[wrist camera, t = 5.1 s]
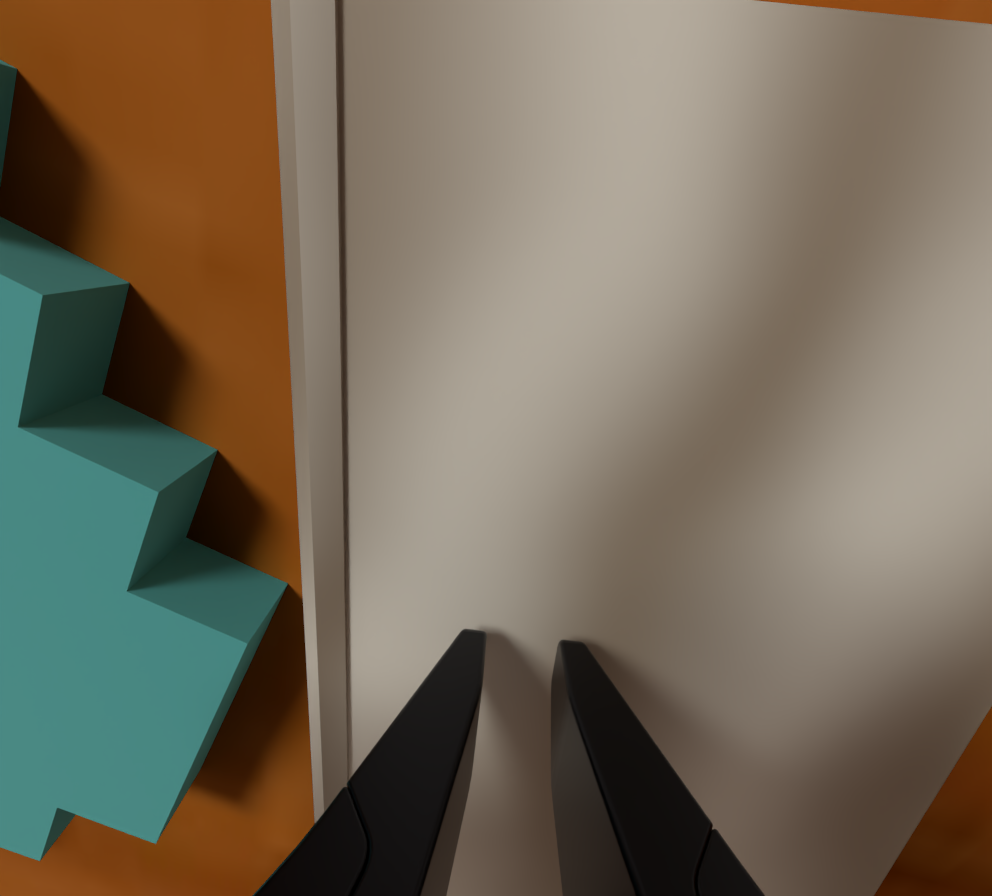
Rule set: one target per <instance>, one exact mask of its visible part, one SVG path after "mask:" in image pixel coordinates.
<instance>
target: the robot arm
mask: <svg viewBox="0 0 992 896" xmlns="http://www.w3.org/2000/svg"><path fill="white" fill-rule="evenodd" d="M486 640H487V634H486V632H485V631H483V630H474V629H463V630H462V631H461V632H460V633H459V634H458V635H457V637H456V638H455V639H454V641H453V642H452V643H451V645H450V646H449V647H448V649H447V650H446V651H445V653H444V654H443V655H442V657H441V658H440V659H439V661H438V662H437V663H436V665H435V666H434V667H433V669H432V670H431V671H430V673H429V674H428V675H427V677H426V678H425V679H424V681H423V682H422V683H421V685H420V686H419V687H418V689H417V690H416V691H415V693H414V694H413V695H412V697H411V698H410V699H409V701H408V702H407V703H406V705H405V706H404V707H403V709H402V710H401V711H400V713H399V714H398V715H397V717H396V718H395V719H394V721H393V722H392V723H391V725H390V726H389V727H388V729H387V730H386V731H385V733H384V734H383V735H382V737H381V738H380V739H379V741H378V742H377V743H376V745H375V746H374V747H373V749H372V750H371V751H370V752H369V754H368V755H367V756H366V758H365V759H364V760H363V762H362V763H361V764H360V766H359V767H358V768H357V770H356V771H355V772H354V774H353V775H352V776H351V778H350V779H349V780H348V782H347V787H343V788H342V789H341V791H340V792H339V793H338V795H337V796H336V797H335V799H334V800H333V801H332V803H331V804H330V805H329V807H328V808H327V809H326V811H325V812H324V813H323V814H322V816H321V817H320V818H319V819H318V821H317V822H316V823H315V824H314V826H313V827H312V828H311V829H310V831H309V832H308V833H307V834H306V836H305V837H304V838H303V839H302V841H301V842H300V843H299V844H298V846H297V847H296V848H295V849H294V850H293V851H292V852H291V853H290V855H289V856H288V857H287V858H286V859H285V860H284V861H283V862H282V864H281V865H280V866H279V867H278V868H277V869H276V870H275V871H274V873H273V874H272V875H271V876H270V877H269V878H268V879H267V881H266V882H265V883H264V884H263V885H262V886H261V887H260V888H259V889H258V890H257V891H256V892H255V894H254V895H253V896H446V895H447V890H448V886H449V881H450V876H451V872H452V867H453V863H454V858H455V853H456V849H457V844H458V839H459V835H460V830H461V825H462V821H463V816H464V811H465V807H466V802H467V798H468V793H469V788H470V782H471V777H472V770H473V762H474V754H475V745H476V737H477V728H478V720H479V711H480V703H481V694H482V685H483V676H484V664H485V652H486ZM551 789H552V802H553V811H554V820H555V829H556V838H557V848H558V857H559V866H560V875H561V884H562V894H563V896H765V895H764V893H763V892H762V891H761V889H760V888H759V887H758V885H757V884H756V883H755V881H754V880H753V879H752V877H751V876H750V874H749V873H748V872H747V870H746V869H745V868H744V866H743V865H742V864H741V862H740V861H739V860H738V858H737V857H736V856H735V854H734V853H733V851H732V850H731V849H730V847H729V846H728V844H727V843H726V841H725V840H724V839H723V837H722V836H721V834H720V833H719V832H718V830H717V829H712V828H713V824H712V822H711V821H710V819H709V818H708V816H707V815H706V814H705V812H704V811H703V809H702V808H701V807H700V805H699V804H698V802H697V801H696V799H695V798H694V797H693V795H692V794H691V792H690V791H689V790H688V788H687V787H686V785H685V784H684V783H683V781H682V780H681V778H680V777H679V775H678V774H677V773H676V771H675V770H674V768H673V767H672V766H671V764H670V763H669V761H668V760H667V759H666V757H665V756H664V754H663V753H662V751H661V750H660V749H659V747H658V746H657V744H656V743H655V742H654V740H653V739H652V737H651V736H650V735H649V733H648V732H647V730H646V729H645V727H644V726H643V725H642V723H641V722H640V720H639V719H638V718H637V716H636V715H635V713H634V712H633V711H632V709H631V708H630V706H629V705H628V703H627V702H626V701H625V699H624V698H623V696H622V695H621V694H620V692H619V691H618V689H617V688H616V687H615V685H614V684H613V682H612V681H611V679H610V678H609V677H608V675H607V674H606V672H605V671H604V670H603V668H602V667H601V665H600V664H599V663H598V661H597V660H596V658H595V657H594V655H593V654H592V653H591V651H590V650H589V648H588V647H587V646H586V644H585V643H583V642H581V641H573V640H564V639H563V640H560V641H559V643H558V646H557V652H556V657H555V663H554V668H553V674H552V681H551Z"/></svg>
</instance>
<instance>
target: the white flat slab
mask: <svg viewBox="0 0 992 896" xmlns="http://www.w3.org/2000/svg"><path fill="white" fill-rule="evenodd" d="M271 10H272V29H273V48H274V66H275V85H276V104H277V123H278V142H279V160H280V179H281V198H282V217H283V236H284V254H285V273H286V292H287V311H288V330H289V348H290V367H291V386H292V405H293V424H294V442H295V461H296V480H297V499H298V518H299V536H300V555H301V574H302V593H303V612H304V630H305V649H306V668H307V687H308V706H309V724H310V743H311V762H312V781H313V800H314V818H315V823H316V822H317V821H318V819H319V818H320V817H321V816H322V814H323V813H324V812H325V811H326V809H327V808H328V807H329V805H330V804H331V803H332V801H333V800H334V799H335V797H336V796H337V795H338V793H339V792H340V791H341V789H342V788H343V787H347V782H348V780H349V779H350V778H351V776H352V775H353V774H354V772H355V771H356V770H357V768H358V767H359V766H360V764H361V763H362V762H363V760H364V759H365V758H366V756H367V755H368V754H369V752H370V751H371V750H372V749H373V747H374V746H375V745H376V743H377V742H378V741H379V739H380V738H381V737H382V735H383V734H384V733H385V731H386V730H387V729H388V727H389V726H390V725H391V723H392V722H393V721H394V719H395V718H396V717H397V715H398V714H399V713H400V711H401V710H402V709H403V707H404V706H405V705H406V703H407V702H408V701H409V699H410V698H411V697H412V695H413V694H414V693H415V691H416V690H417V689H418V687H419V686H420V685H421V683H422V682H423V681H424V679H425V678H426V677H427V675H428V674H429V673H430V671H431V670H432V669H433V667H434V666H435V665H436V663H437V662H438V661H439V659H440V658H441V657H442V655H443V654H444V653H445V651H446V650H447V649H448V647H449V646H450V645H451V643H452V642H453V641H454V639H455V638H456V637H457V635H458V634H459V633H460V632H461V631H462V630H463V629H474V630H483V631H485V632H486V634H487V640H486V652H485V664H484V676H483V685H482V694H481V703H480V711H479V720H478V728H477V737H476V745H475V754H474V762H473V770H472V777H471V782H470V788H469V793H468V798H467V802H466V807H465V811H464V816H463V821H462V825H461V830H460V835H459V839H458V844H457V849H456V853H455V858H454V863H453V867H452V872H451V876H450V881H449V886H448V890H447V895H446V896H563V894H562V884H561V875H560V866H559V857H558V848H557V838H556V829H555V820H554V811H553V802H552V789H551V681H552V674H553V668H554V663H555V657H556V652H557V646H558V643H559V641H560V640H563V639H564V640H573V641H581V642H583V643H585V644H586V646H587V647H588V648H589V650H590V651H591V653H592V654H593V655H594V657H595V658H596V660H597V661H598V663H599V664H600V665H601V667H602V668H603V670H604V671H605V672H606V674H607V675H608V677H609V678H610V679H611V681H612V682H613V684H614V685H615V687H616V688H617V689H618V691H619V692H620V694H621V695H622V696H623V698H624V699H625V701H626V702H627V703H628V705H629V706H630V708H631V709H632V711H633V712H634V713H635V715H636V716H637V718H638V719H639V720H640V722H641V723H642V725H643V726H644V727H645V729H646V730H647V732H648V733H649V735H650V736H651V737H652V739H653V740H654V742H655V743H656V744H657V746H658V747H659V749H660V750H661V751H662V753H663V754H664V756H665V757H666V759H667V760H668V761H669V763H670V764H671V766H672V767H673V768H674V770H675V771H676V773H677V774H678V775H679V777H680V778H681V780H682V781H683V783H684V784H685V785H686V787H687V788H688V790H689V791H690V792H691V794H692V795H693V797H694V798H695V799H696V801H697V802H698V804H699V805H700V807H701V808H702V809H703V811H704V812H705V814H706V815H707V816H708V818H709V819H710V821H711V822H712V824H713V828H712V829H717V830H718V832H719V833H720V834H721V836H722V837H723V839H724V840H725V841H726V843H727V844H728V846H729V847H730V849H731V850H732V851H733V853H734V854H735V856H736V857H737V858H738V860H739V861H740V862H741V864H742V865H743V866H744V868H745V869H746V870H747V872H748V873H749V874H750V876H751V877H752V879H753V880H754V881H755V883H756V884H757V885H758V887H759V888H760V889H761V891H762V892H763V893H764V895H765V896H874V895H875V893H876V891H877V890H878V888H879V887H880V885H881V883H882V882H883V880H884V878H885V877H886V875H887V874H888V872H889V870H890V869H891V867H892V866H893V864H894V862H895V861H896V859H897V858H898V856H899V854H900V853H901V851H902V850H903V848H904V846H905V845H906V843H907V841H908V840H909V838H910V837H911V835H912V833H913V832H914V830H915V829H916V827H917V825H918V824H919V822H920V821H921V819H922V817H923V816H924V814H925V813H926V811H927V809H928V808H929V806H930V805H931V803H932V801H933V800H934V798H935V796H936V795H937V793H938V792H939V790H940V788H941V787H942V785H943V784H944V782H945V780H946V779H947V777H948V776H949V774H950V772H951V771H952V769H953V768H954V766H955V764H956V763H957V761H958V759H959V758H960V756H961V755H962V753H963V751H964V750H965V748H966V747H967V745H968V743H969V742H970V740H971V739H972V737H973V735H974V734H975V732H976V731H977V729H978V727H979V726H980V724H981V722H982V721H983V719H984V718H985V716H986V714H987V713H988V711H989V710H990V708H991V706H992V24H982V23H972V22H962V21H953V20H943V19H933V18H923V17H913V16H903V15H893V14H883V13H873V12H863V11H853V10H843V9H833V8H823V7H813V6H803V5H794V4H784V3H774V2H764V1H754V0H271Z"/></svg>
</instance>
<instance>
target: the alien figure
mask: <svg viewBox="0 0 992 896" xmlns="http://www.w3.org/2000/svg"><path fill="white" fill-rule="evenodd" d="M16 74H17V69H16V68H14V67H12V66H11V65H9V64H7V63H5V62H3V61H2V60H0V185H1V178H2V171H3V164H4V157H5V150H6V144H7V137H8V130H9V123H10V116H11V109H12V102H13V95H14V88H15V81H16ZM129 284H130V283H129V282H127V281H125V280H123V279H121V278H119V277H117V276H115V275H113V274H111V273H109V272H107V271H105V270H103V269H101V268H99V267H98V266H96V265H94V264H92V263H90V262H88V261H86V260H84V259H82V258H80V257H78V256H76V255H74V254H72V253H70V252H68V251H66V250H65V249H63V248H61V247H59V246H57V245H55V244H53V243H51V242H49V241H47V240H45V239H43V238H41V237H39V236H37V235H35V234H33V233H31V232H30V231H28V230H26V229H24V228H22V227H20V226H18V225H16V224H14V223H12V222H10V221H8V220H6V219H4V218H2V217H0V847H1V848H4V849H7V850H10V851H13V852H16V853H18V854H21V855H24V856H27V857H30V858H33V859H35V860H38V861H40V860H41V859H42V858H43V856H44V855H45V854H46V853H47V851H48V850H49V849H50V847H51V846H52V845H53V843H54V842H55V841H56V840H57V838H58V837H59V836H60V834H61V833H62V832H63V830H64V829H65V828H66V827H67V825H68V824H69V823H70V821H71V820H72V819H73V817H74V816H75V815H79V816H82V817H84V818H87V819H90V820H92V821H95V822H98V823H101V824H103V825H106V826H109V827H111V828H114V829H117V830H120V831H122V832H125V833H128V834H131V835H133V836H136V837H139V838H141V839H144V840H147V841H150V842H152V843H155V844H156V842H157V841H158V839H159V837H160V836H161V834H162V832H163V831H164V829H165V827H166V826H167V824H168V822H169V821H170V819H171V817H172V816H173V814H174V813H175V811H176V809H177V808H178V806H179V804H180V803H181V801H182V799H183V798H184V796H185V794H186V793H187V791H188V789H189V788H190V786H191V784H192V783H193V781H194V779H195V778H196V776H197V774H198V773H199V771H200V769H201V767H202V765H203V763H204V761H205V758H206V756H207V754H208V752H209V750H210V748H211V746H212V744H213V742H214V739H215V737H216V735H217V733H218V731H219V729H220V727H221V725H222V722H223V720H224V718H225V716H226V714H227V712H228V710H229V708H230V705H231V703H232V701H233V699H234V697H235V695H236V693H237V691H238V689H239V686H240V684H241V682H242V680H243V678H244V676H245V674H246V672H247V669H248V667H249V665H250V663H251V661H252V659H253V657H254V655H255V652H256V650H257V648H258V646H259V644H260V642H261V640H262V638H263V635H264V633H265V631H266V629H267V627H268V625H269V623H270V621H271V619H272V616H273V614H274V612H275V610H276V608H277V606H278V604H279V602H280V599H281V597H282V595H283V593H284V591H285V589H286V587H287V585H288V583H285V582H283V581H281V580H279V579H277V578H274V577H272V576H270V575H268V574H266V573H263V572H261V571H259V570H257V569H255V568H252V567H250V566H248V565H246V564H244V563H241V562H239V561H237V560H235V559H233V558H230V557H228V556H226V555H224V554H222V553H219V552H217V551H215V550H213V549H210V548H208V547H206V546H204V545H202V544H199V543H197V542H195V541H193V540H191V539H188V538H186V536H187V534H188V531H189V528H190V525H191V523H192V520H193V517H194V514H195V511H196V509H197V506H198V503H199V500H200V498H201V495H202V492H203V489H204V486H205V484H206V481H207V478H208V475H209V472H210V470H211V467H212V464H213V461H214V459H215V456H216V453H217V449H215V448H213V447H210V446H208V445H206V444H204V443H202V442H200V441H198V440H196V439H194V438H192V437H190V436H188V435H186V434H183V433H181V432H179V431H177V430H175V429H173V428H171V427H169V426H167V425H165V424H163V423H161V422H159V421H156V420H154V419H152V418H150V417H148V416H146V415H144V414H142V413H140V412H138V411H136V410H134V409H132V408H129V407H127V406H125V405H123V404H121V403H119V402H117V401H115V400H113V399H111V398H109V397H107V396H105V395H102V392H103V388H104V384H105V380H106V376H107V372H108V368H109V364H110V360H111V356H112V352H113V348H114V344H115V340H116V336H117V332H118V328H119V324H120V320H121V316H122V312H123V308H124V304H125V300H126V296H127V292H128V288H129Z"/></svg>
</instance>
